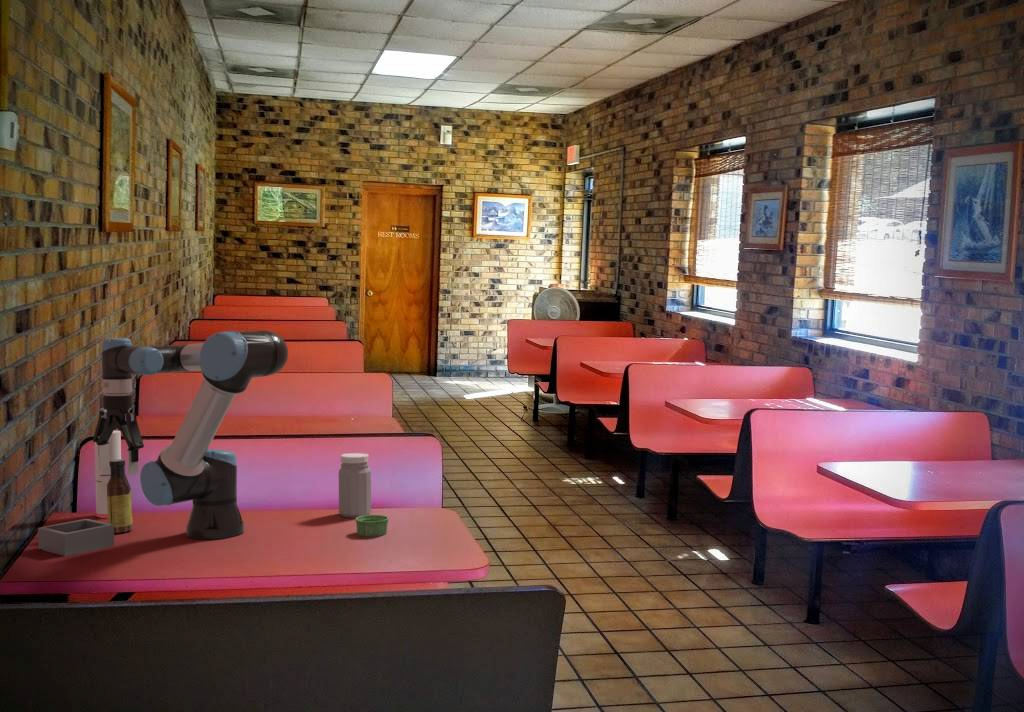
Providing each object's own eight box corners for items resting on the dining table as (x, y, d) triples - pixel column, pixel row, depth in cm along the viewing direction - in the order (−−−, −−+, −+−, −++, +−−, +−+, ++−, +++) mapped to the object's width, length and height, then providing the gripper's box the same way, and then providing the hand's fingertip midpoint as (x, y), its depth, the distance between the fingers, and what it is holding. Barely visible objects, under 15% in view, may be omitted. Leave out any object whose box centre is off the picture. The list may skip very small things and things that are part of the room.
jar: (335, 512, 297) (334, 453, 296) (367, 510, 301) (366, 451, 300) (342, 519, 288) (342, 458, 287) (375, 516, 292) (375, 456, 291)
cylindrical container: (116, 518, 289) (114, 433, 288) (92, 518, 289) (90, 433, 288) (126, 513, 296) (124, 430, 295) (102, 513, 297) (100, 430, 295)
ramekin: (395, 533, 271) (395, 517, 271) (369, 539, 264) (369, 523, 264) (374, 528, 277) (374, 513, 277) (348, 534, 270) (348, 518, 270)
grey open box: (114, 545, 257) (113, 524, 256) (65, 556, 246) (64, 534, 245) (87, 539, 264) (86, 518, 263) (38, 549, 253) (37, 527, 253)
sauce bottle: (137, 530, 274) (136, 459, 273) (120, 535, 268) (118, 462, 267) (120, 528, 277) (118, 457, 276) (102, 532, 271) (101, 460, 270)
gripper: (79, 392, 275) (80, 468, 276) (131, 398, 260) (132, 478, 262) (103, 390, 281) (104, 464, 282) (156, 396, 267) (157, 474, 268)
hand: (118, 471), depth 272 cm, fingers open, 13 cm apart
